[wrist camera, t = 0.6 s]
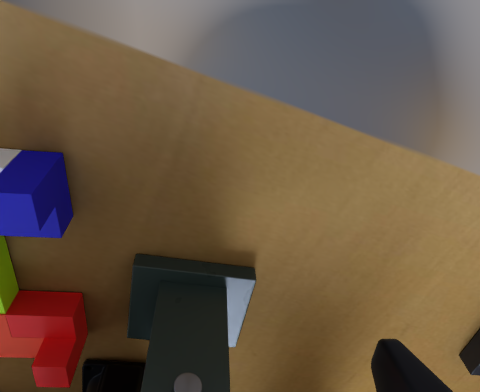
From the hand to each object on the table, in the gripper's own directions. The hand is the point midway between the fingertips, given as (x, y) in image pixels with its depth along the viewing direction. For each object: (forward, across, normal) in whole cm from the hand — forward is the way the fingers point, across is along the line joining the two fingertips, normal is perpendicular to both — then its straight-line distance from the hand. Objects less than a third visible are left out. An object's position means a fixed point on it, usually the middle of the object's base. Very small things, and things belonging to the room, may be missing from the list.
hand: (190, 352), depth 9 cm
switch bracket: (+14, +1, +13) cm, 19 cm away
